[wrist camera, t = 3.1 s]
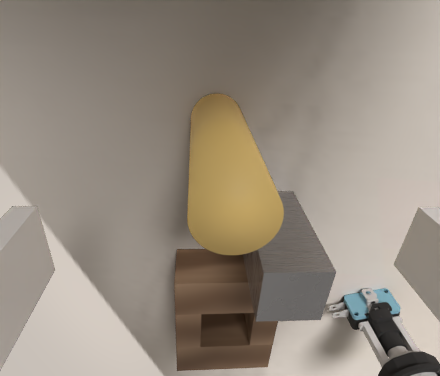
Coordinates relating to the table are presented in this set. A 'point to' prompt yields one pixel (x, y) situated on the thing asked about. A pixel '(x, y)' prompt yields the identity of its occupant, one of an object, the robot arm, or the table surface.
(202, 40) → the table surface
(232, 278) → the socket block
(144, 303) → the table surface
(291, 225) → the square bar bit
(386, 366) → the push button
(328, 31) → the table surface
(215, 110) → the dowel bit
